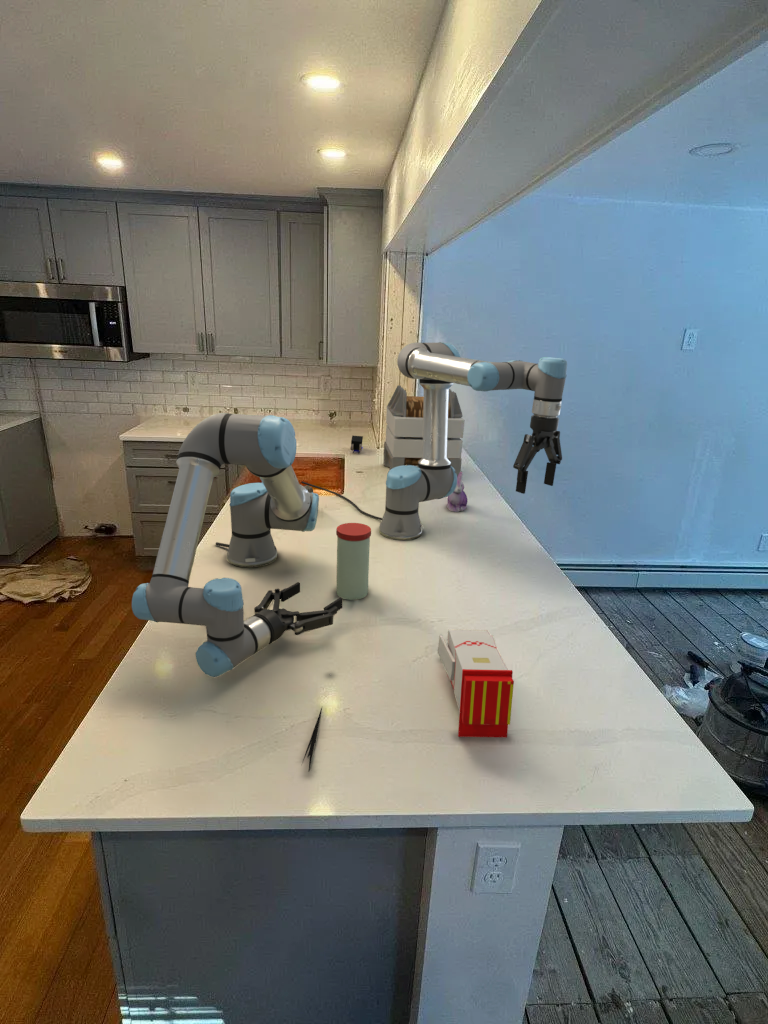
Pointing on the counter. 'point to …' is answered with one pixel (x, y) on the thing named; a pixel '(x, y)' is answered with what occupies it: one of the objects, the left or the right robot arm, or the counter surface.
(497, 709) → the toy
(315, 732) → the feather
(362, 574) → the jar
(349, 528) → the lid
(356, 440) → the figurine character
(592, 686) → the counter surface
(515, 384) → the right robot arm
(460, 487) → the figurine
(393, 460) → the grey slatted crate
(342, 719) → the counter surface
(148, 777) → the counter surface
